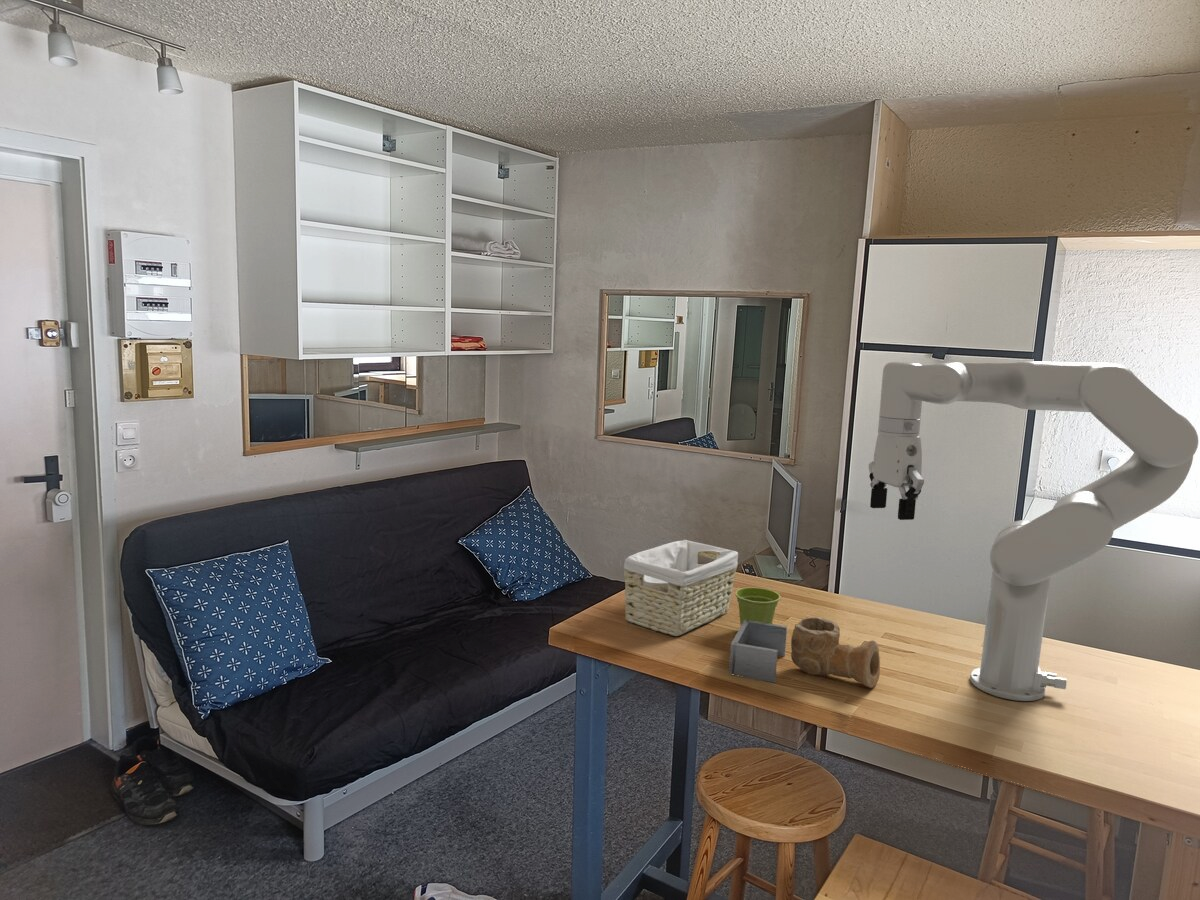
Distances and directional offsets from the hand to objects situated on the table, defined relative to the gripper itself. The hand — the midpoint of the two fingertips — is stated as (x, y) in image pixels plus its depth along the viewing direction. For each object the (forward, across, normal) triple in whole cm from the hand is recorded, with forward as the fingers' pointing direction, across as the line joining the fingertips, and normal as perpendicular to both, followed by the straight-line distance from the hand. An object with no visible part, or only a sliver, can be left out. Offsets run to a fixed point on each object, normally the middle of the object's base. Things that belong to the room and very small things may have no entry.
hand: (891, 513), depth 162 cm
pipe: (+30, -8, +15) cm, 34 cm away
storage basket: (+29, +26, +34) cm, 52 cm away
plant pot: (+30, +15, +20) cm, 39 cm away
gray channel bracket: (+29, 0, +26) cm, 40 cm away
